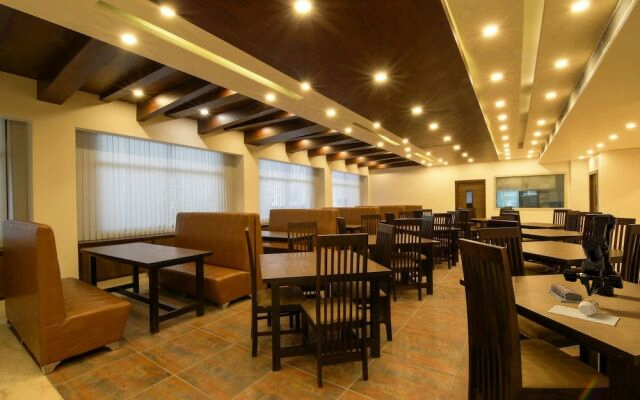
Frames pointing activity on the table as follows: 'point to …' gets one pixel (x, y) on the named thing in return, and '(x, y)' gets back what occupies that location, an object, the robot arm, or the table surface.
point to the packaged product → (565, 294)
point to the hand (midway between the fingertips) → (589, 295)
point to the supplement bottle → (588, 306)
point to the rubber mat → (577, 314)
